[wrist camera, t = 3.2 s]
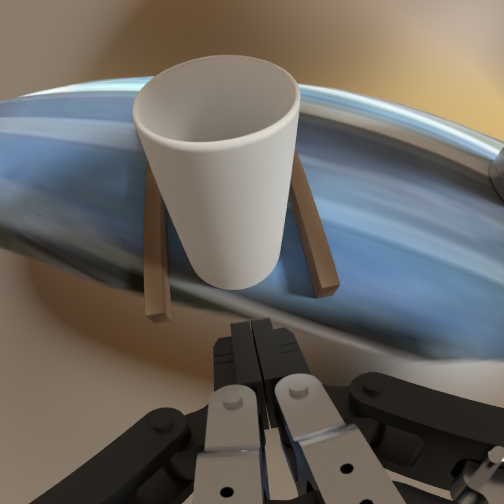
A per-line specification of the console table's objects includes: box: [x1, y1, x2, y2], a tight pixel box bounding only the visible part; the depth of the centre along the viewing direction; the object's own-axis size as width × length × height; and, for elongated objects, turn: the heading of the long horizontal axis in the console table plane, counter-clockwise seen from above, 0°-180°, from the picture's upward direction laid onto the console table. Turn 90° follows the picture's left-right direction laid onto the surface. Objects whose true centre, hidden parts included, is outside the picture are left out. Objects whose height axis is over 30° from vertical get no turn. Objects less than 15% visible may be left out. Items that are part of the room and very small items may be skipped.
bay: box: [144, 149, 340, 323], centre depth 29 cm, size 15×24×3 cm, turn 9°
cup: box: [132, 55, 300, 290], centre depth 20 cm, size 8×8×16 cm
